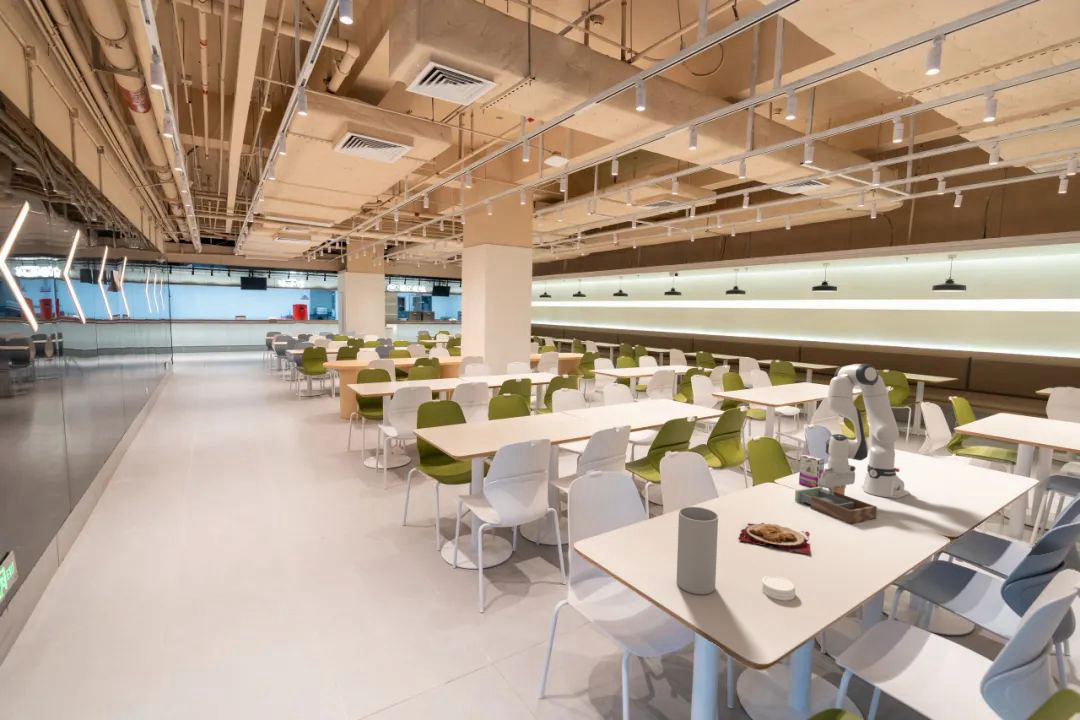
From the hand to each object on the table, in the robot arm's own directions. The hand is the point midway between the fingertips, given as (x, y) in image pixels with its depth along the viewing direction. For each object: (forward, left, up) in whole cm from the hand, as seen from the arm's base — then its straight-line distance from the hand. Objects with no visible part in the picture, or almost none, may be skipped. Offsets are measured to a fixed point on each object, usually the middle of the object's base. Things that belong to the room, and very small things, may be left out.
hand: (836, 494), depth 250 cm
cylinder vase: (+120, +41, -4) cm, 127 cm away
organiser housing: (+13, +13, -3) cm, 19 cm away
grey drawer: (+13, +4, -3) cm, 14 cm away
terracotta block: (0, 0, -2) cm, 2 cm away
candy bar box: (-7, -21, -4) cm, 22 cm away
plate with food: (+64, +21, -4) cm, 68 cm away
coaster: (+97, +54, -4) cm, 111 cm away
